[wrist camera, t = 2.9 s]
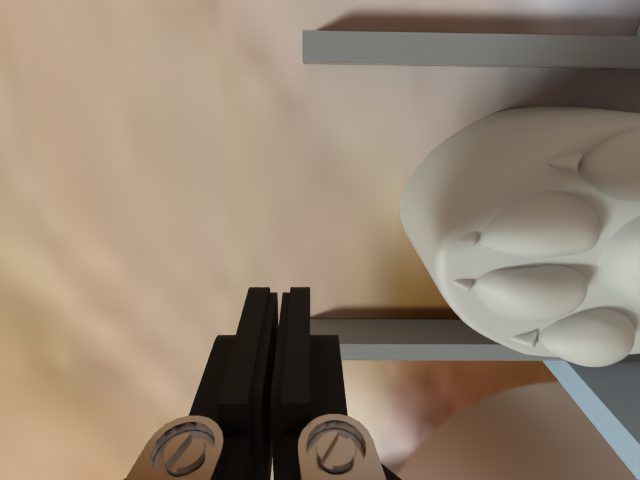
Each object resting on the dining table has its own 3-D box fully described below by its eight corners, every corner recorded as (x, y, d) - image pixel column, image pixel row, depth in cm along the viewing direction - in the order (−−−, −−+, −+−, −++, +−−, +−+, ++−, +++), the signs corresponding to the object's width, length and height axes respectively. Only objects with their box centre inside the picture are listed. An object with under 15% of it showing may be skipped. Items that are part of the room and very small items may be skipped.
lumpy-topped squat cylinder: (602, 278, 24) (747, 380, 16) (395, 285, 24) (435, 390, 16) (656, 102, 20) (890, 120, 12) (405, 111, 20) (466, 134, 12)
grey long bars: (874, 45, 19) (953, 41, 16) (720, 335, 25) (760, 361, 23) (304, 36, 18) (302, 30, 16) (304, 333, 25) (303, 360, 23)
